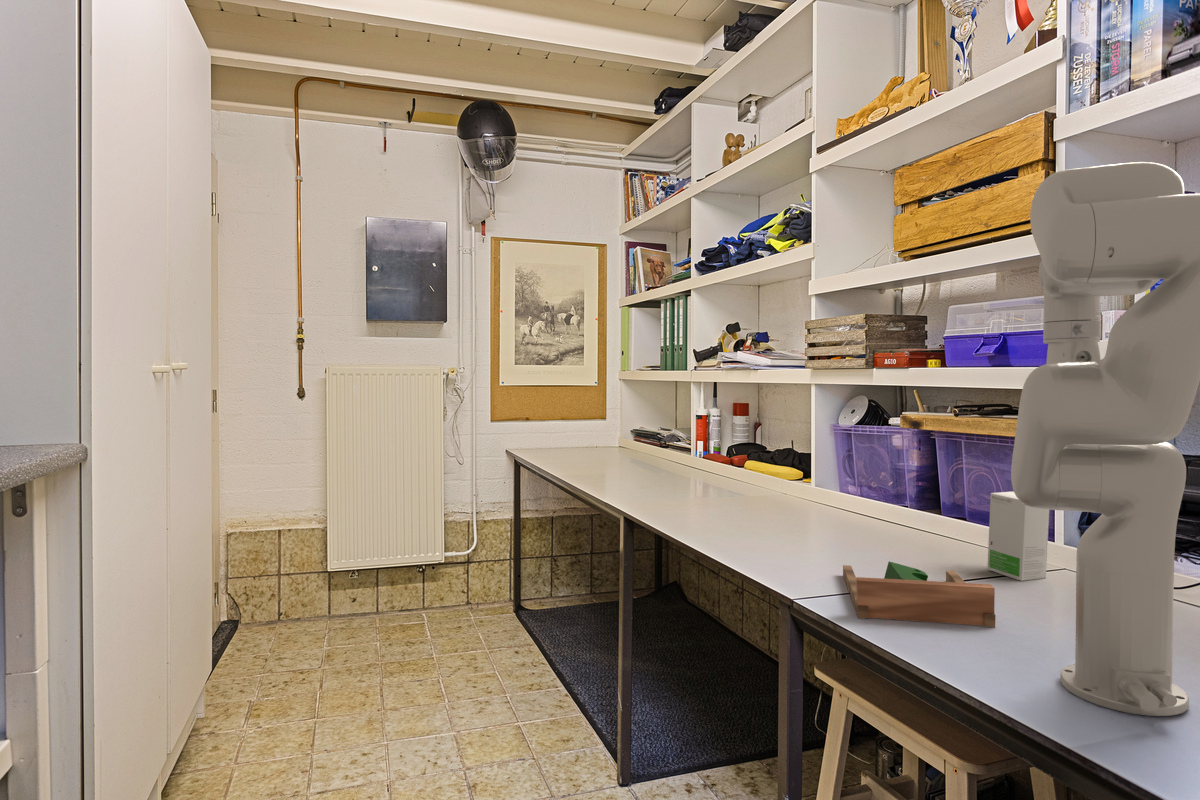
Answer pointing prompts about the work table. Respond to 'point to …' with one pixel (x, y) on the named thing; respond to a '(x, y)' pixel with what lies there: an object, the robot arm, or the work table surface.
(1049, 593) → the work table surface
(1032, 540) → the skincare box
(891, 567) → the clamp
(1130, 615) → the robot arm
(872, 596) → the brown wooden tray
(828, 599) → the work table surface
